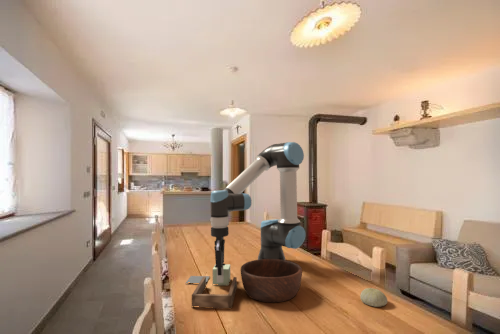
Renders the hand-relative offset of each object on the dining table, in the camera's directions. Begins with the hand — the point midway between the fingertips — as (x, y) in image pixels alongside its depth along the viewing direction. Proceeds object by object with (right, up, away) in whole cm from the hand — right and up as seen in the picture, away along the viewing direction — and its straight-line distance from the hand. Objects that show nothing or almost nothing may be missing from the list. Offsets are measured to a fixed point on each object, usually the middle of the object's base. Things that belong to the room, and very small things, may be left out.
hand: (220, 281), depth 123 cm
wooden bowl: (+21, -2, -6) cm, 22 cm away
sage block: (0, -3, +6) cm, 7 cm away
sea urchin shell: (+59, -2, -16) cm, 61 cm away
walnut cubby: (-1, -2, -9) cm, 9 cm away
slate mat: (-11, -3, +8) cm, 14 cm away
